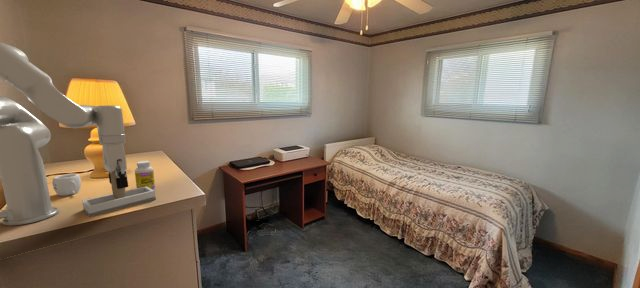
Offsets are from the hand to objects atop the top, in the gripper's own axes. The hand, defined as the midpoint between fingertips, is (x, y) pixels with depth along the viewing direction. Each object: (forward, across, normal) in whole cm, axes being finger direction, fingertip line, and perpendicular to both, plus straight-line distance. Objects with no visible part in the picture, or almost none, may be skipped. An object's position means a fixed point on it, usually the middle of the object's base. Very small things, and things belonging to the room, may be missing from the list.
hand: (118, 185), depth 95 cm
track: (+7, 0, 0) cm, 7 cm away
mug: (+8, -30, -10) cm, 33 cm away
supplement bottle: (+8, -10, +11) cm, 17 cm away
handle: (+7, 0, 0) cm, 7 cm away
